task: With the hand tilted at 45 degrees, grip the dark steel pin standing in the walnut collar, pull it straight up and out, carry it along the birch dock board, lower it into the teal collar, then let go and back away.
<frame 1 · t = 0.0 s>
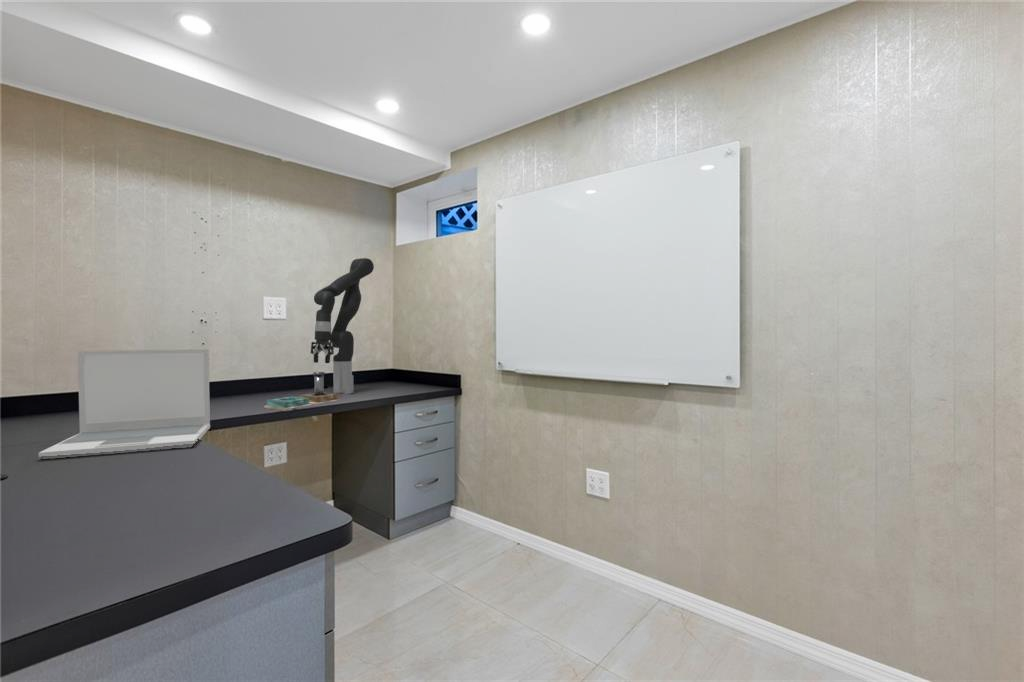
hand: (321, 362, 240), 17 cm above the table, fingers open, 8 cm apart
dock board: (304, 404, 217), on the table
steel pin: (319, 400, 224), point 1 cm above the table, touching dock board
laptop: (135, 445, 146), on the table
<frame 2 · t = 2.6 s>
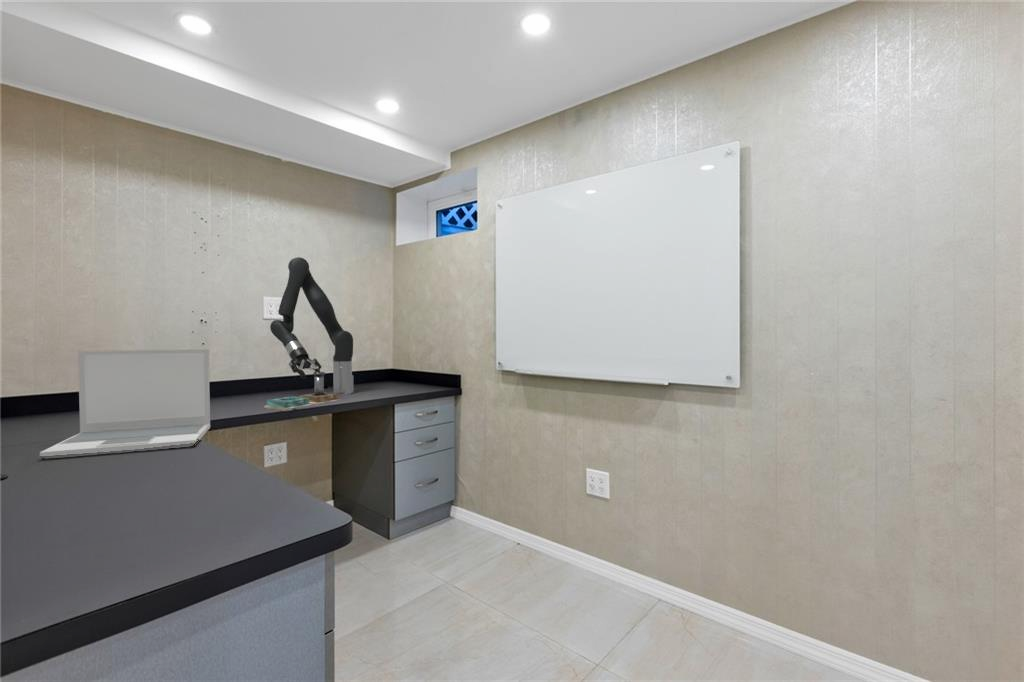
hand: (312, 376, 226), 12 cm above the table, fingers open, 8 cm apart
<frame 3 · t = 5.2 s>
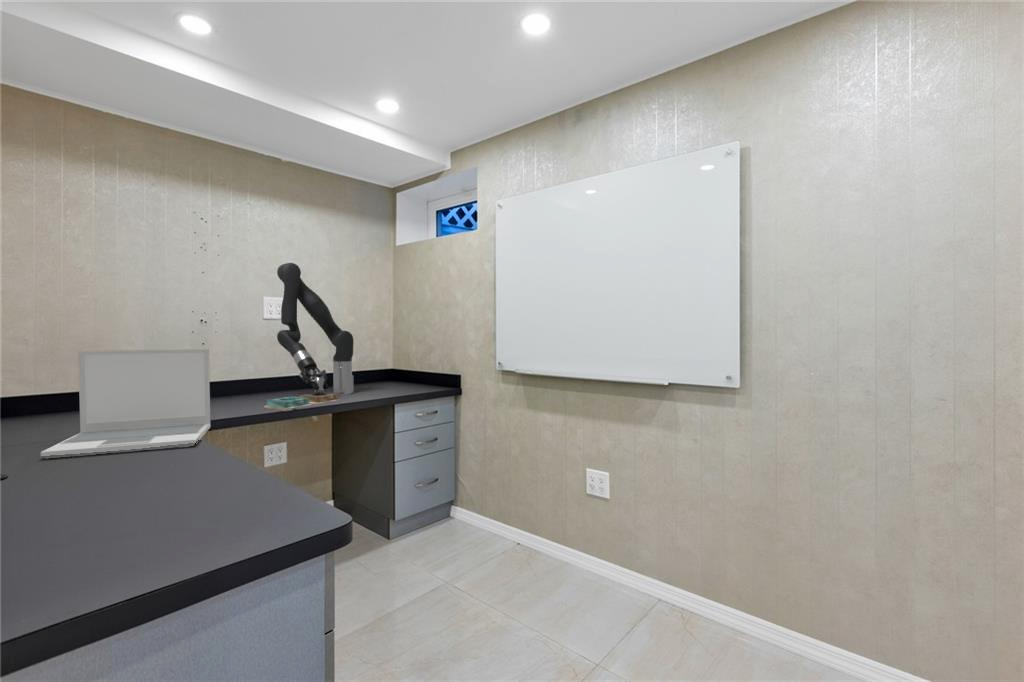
hand: (322, 388, 223), 7 cm above the table, fingers closed on steel pin, 4 cm apart
steel pin: (319, 400, 224), point 1 cm above the table, touching dock board, gripper
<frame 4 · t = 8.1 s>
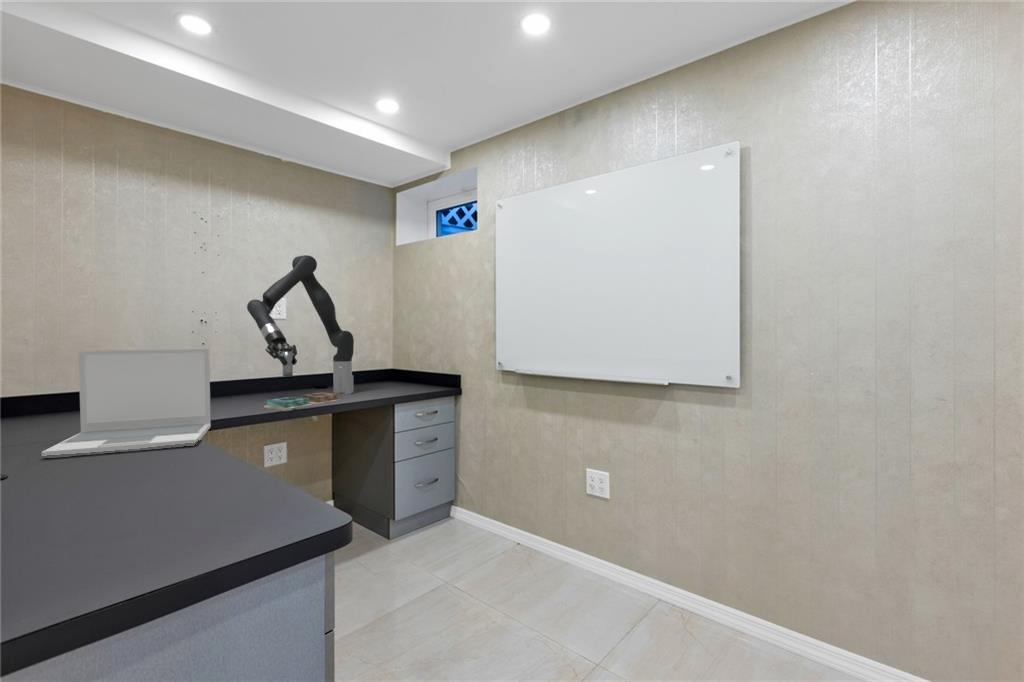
hand: (290, 363, 208), 19 cm above the table, fingers closed on steel pin, 4 cm apart
steel pin: (287, 376, 209), point 14 cm above the table, touching gripper
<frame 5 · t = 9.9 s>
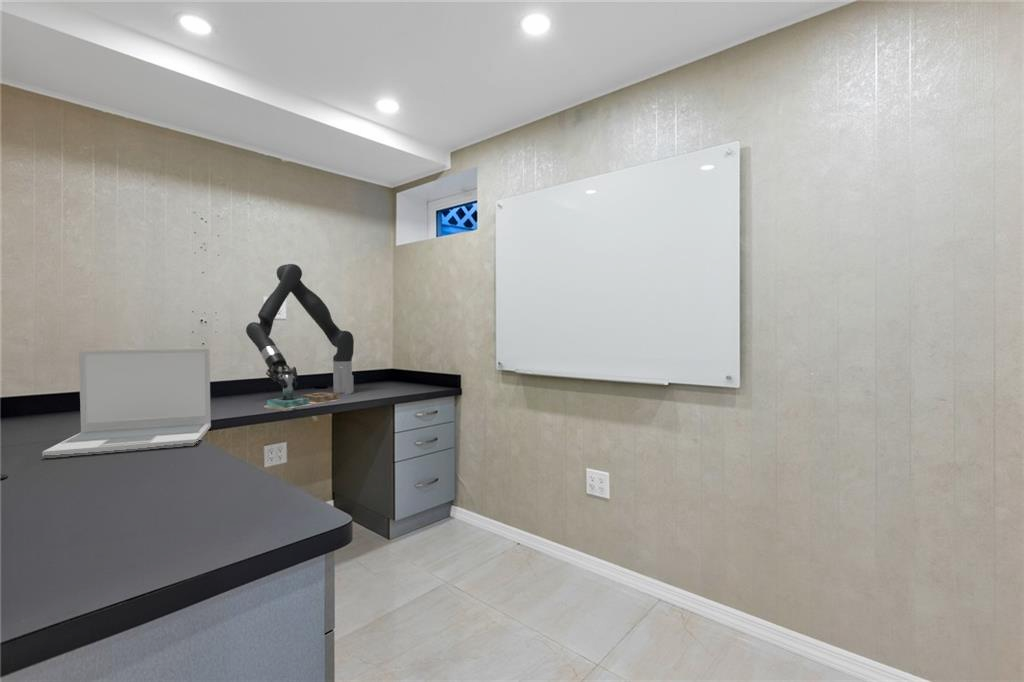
hand: (290, 386, 209), 9 cm above the table, fingers closed on steel pin, 4 cm apart
steel pin: (288, 398, 210), point 4 cm above the table, touching gripper
when the fingers open (7 cm above the table, at t = 11.1 s): steel pin stays where it is, resting on dock board.
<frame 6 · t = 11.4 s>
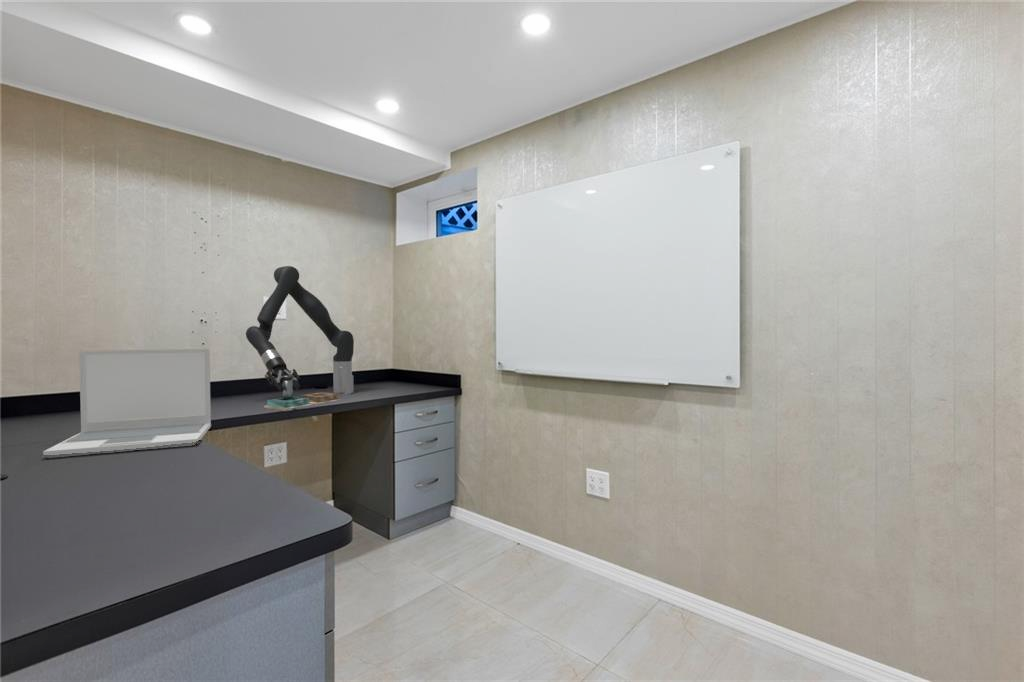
hand: (290, 389, 209), 8 cm above the table, fingers open, 7 cm apart
steel pin: (288, 404, 210), point 1 cm above the table, touching dock board
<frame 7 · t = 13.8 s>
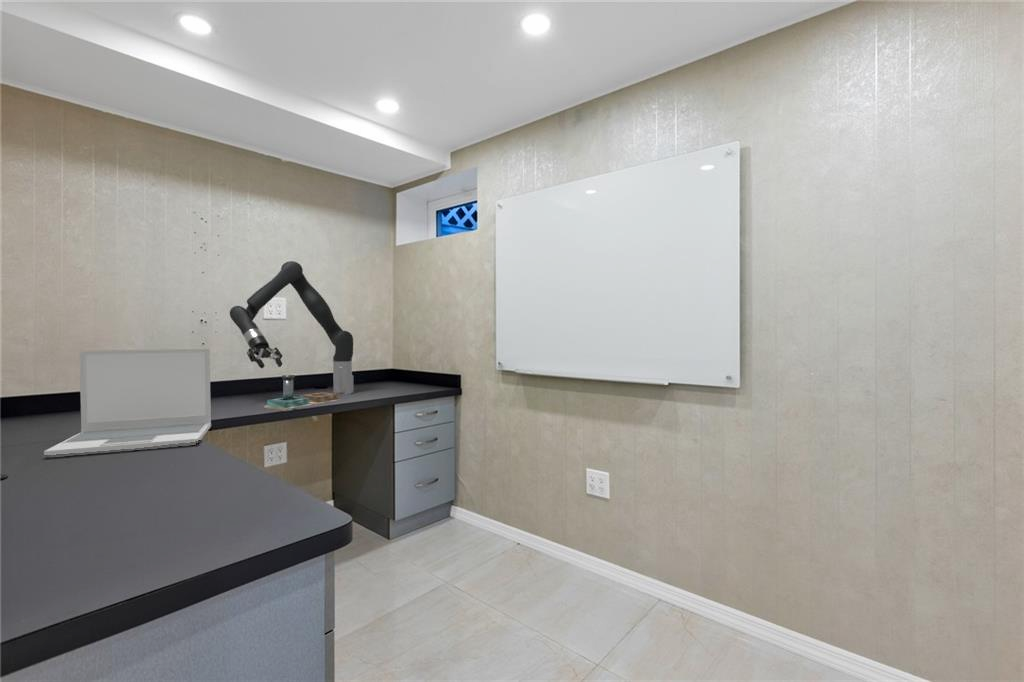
hand: (272, 366, 215), 17 cm above the table, fingers open, 8 cm apart
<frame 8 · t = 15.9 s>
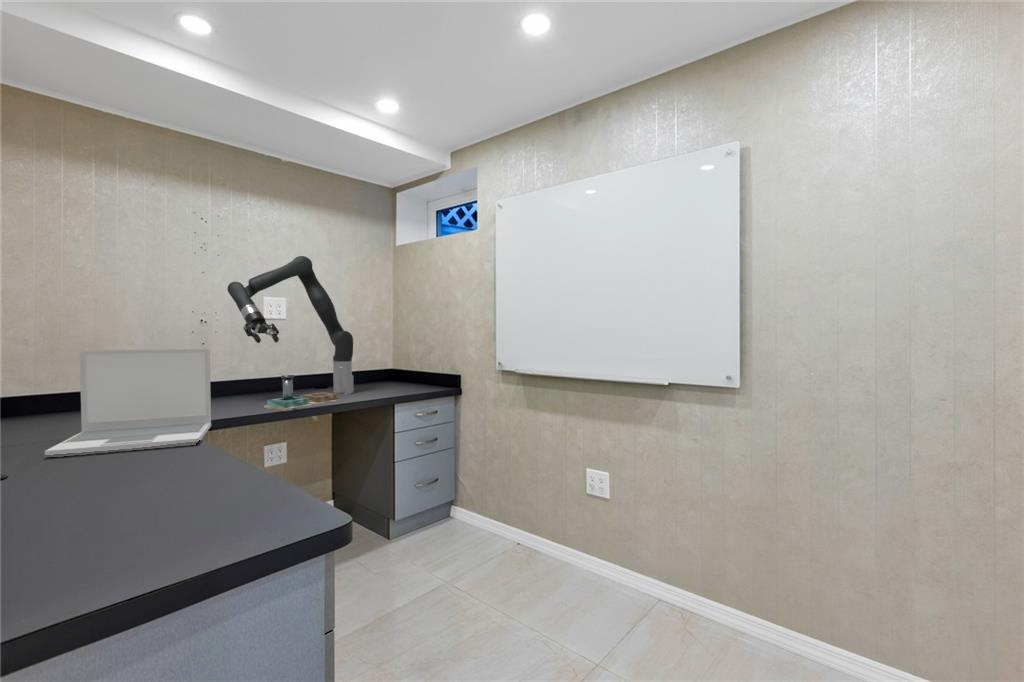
hand: (268, 341, 216), 29 cm above the table, fingers open, 8 cm apart
at the end: steel pin 0.1 cm from the target spot on the dock board, point 1.0 cm above the dock board's base; steel pin tilted 1°; the gripper is holding nothing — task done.
